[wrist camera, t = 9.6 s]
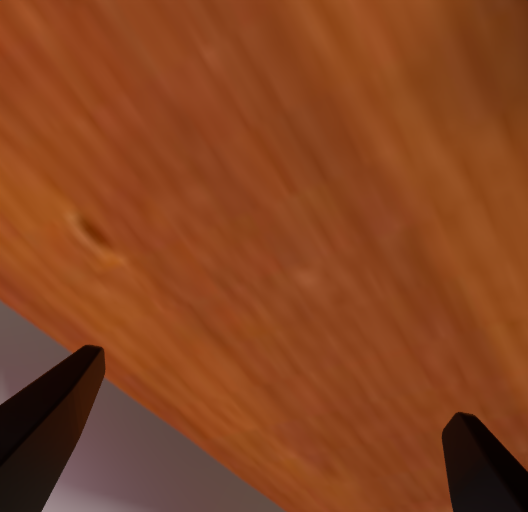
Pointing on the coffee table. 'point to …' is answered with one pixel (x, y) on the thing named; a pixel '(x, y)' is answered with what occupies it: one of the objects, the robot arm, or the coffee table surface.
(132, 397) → the coffee table surface
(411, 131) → the coffee table surface
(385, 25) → the coffee table surface
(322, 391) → the coffee table surface
